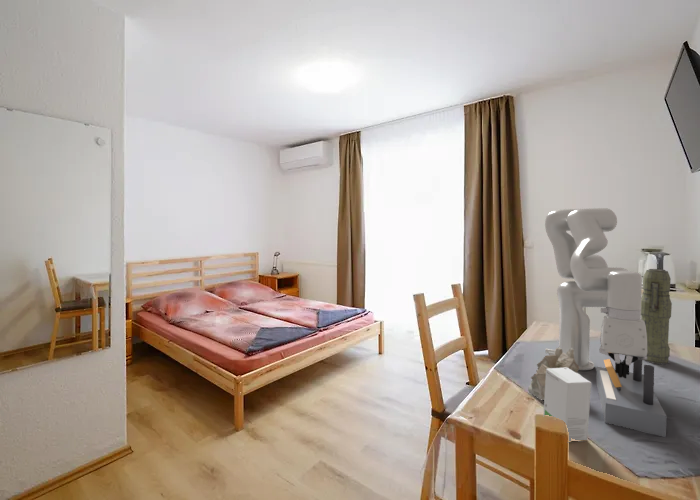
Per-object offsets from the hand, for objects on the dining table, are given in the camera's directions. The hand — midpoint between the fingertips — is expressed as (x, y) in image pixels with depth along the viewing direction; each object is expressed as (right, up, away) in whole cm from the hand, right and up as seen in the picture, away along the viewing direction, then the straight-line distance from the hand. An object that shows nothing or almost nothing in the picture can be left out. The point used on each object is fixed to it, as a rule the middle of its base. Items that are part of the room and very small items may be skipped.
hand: (621, 375), depth 96 cm
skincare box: (-23, -11, -11) cm, 28 cm away
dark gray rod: (0, -4, -8) cm, 9 cm away
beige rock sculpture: (-14, -9, +11) cm, 20 cm away
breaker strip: (+2, -9, +1) cm, 9 cm away
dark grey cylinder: (+8, -3, +5) cm, 10 cm away
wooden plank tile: (0, -3, +1) cm, 3 cm away
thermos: (+38, -6, +32) cm, 50 cm away
